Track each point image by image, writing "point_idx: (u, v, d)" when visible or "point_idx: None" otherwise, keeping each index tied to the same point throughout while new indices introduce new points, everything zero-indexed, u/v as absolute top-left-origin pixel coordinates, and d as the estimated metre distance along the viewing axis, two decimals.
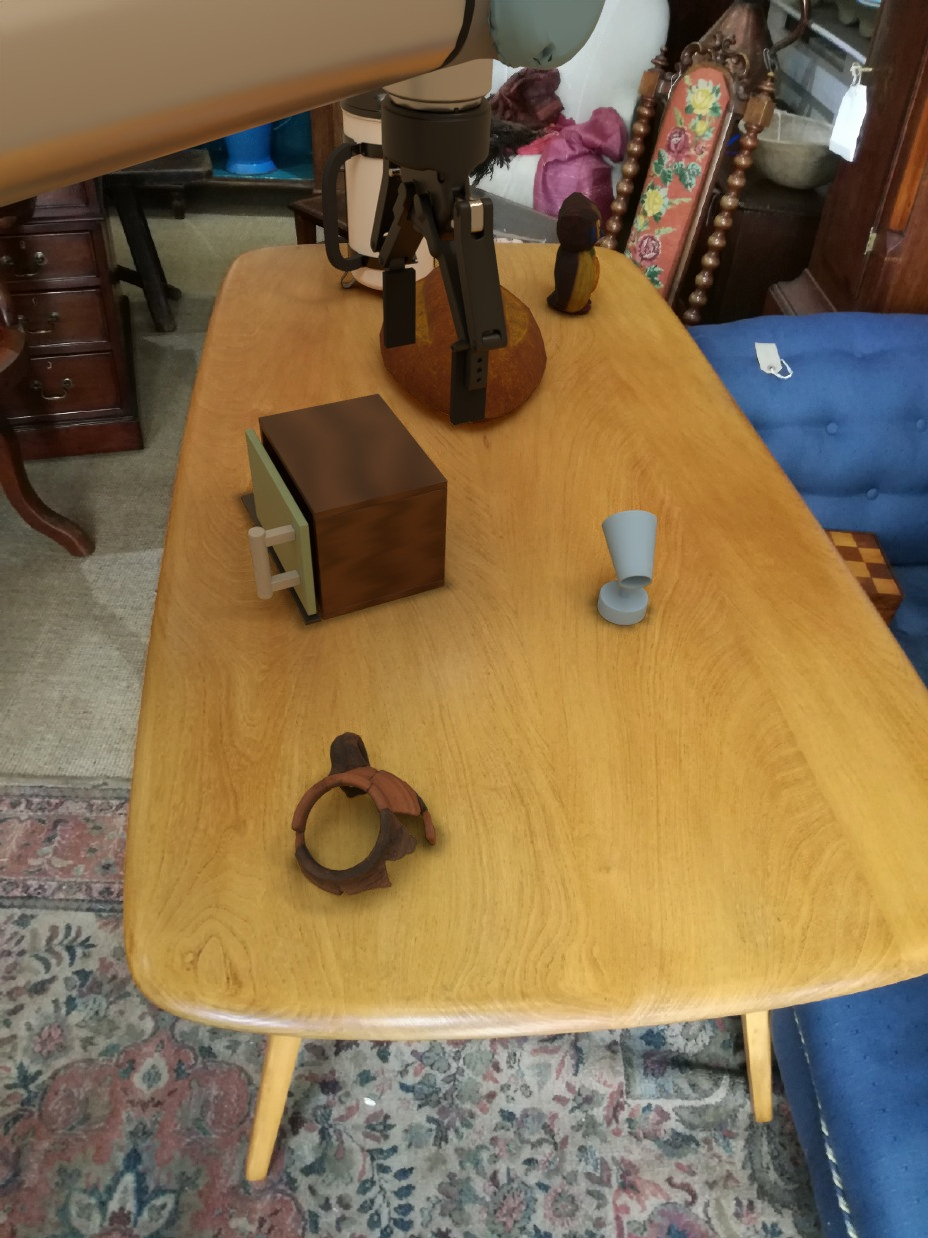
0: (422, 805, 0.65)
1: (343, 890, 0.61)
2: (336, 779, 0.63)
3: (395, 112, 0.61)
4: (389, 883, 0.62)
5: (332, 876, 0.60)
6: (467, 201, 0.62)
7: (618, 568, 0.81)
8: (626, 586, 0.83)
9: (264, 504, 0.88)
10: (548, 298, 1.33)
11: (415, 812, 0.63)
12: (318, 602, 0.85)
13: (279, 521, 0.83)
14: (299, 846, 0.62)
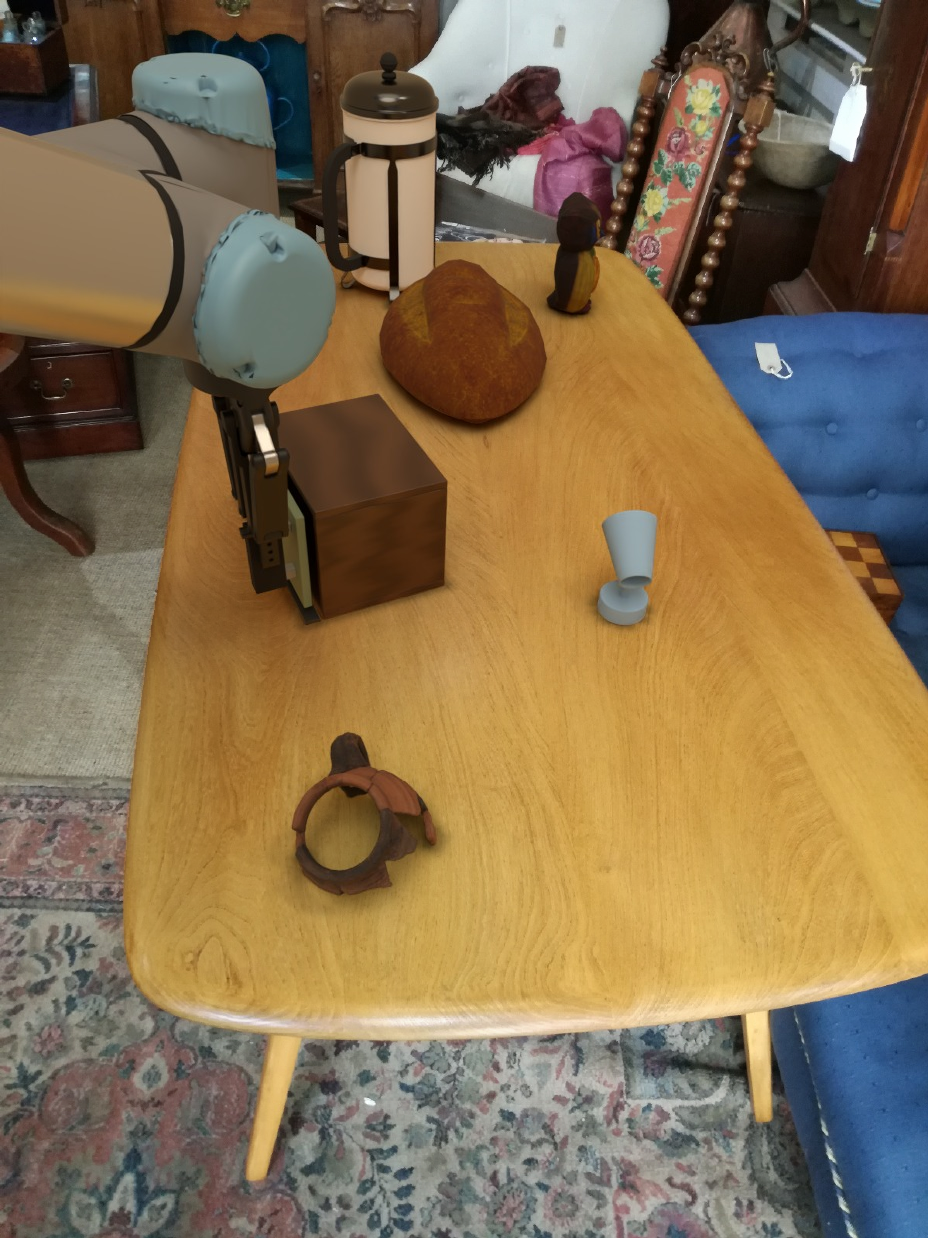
0: (422, 805, 0.65)
1: (343, 890, 0.61)
2: (336, 779, 0.63)
3: None
4: (389, 883, 0.62)
5: (333, 876, 0.60)
6: (264, 459, 0.64)
7: (618, 568, 0.81)
8: (626, 586, 0.83)
9: None
10: (548, 298, 1.33)
11: (415, 812, 0.63)
12: (318, 602, 0.85)
13: None
14: (299, 846, 0.62)
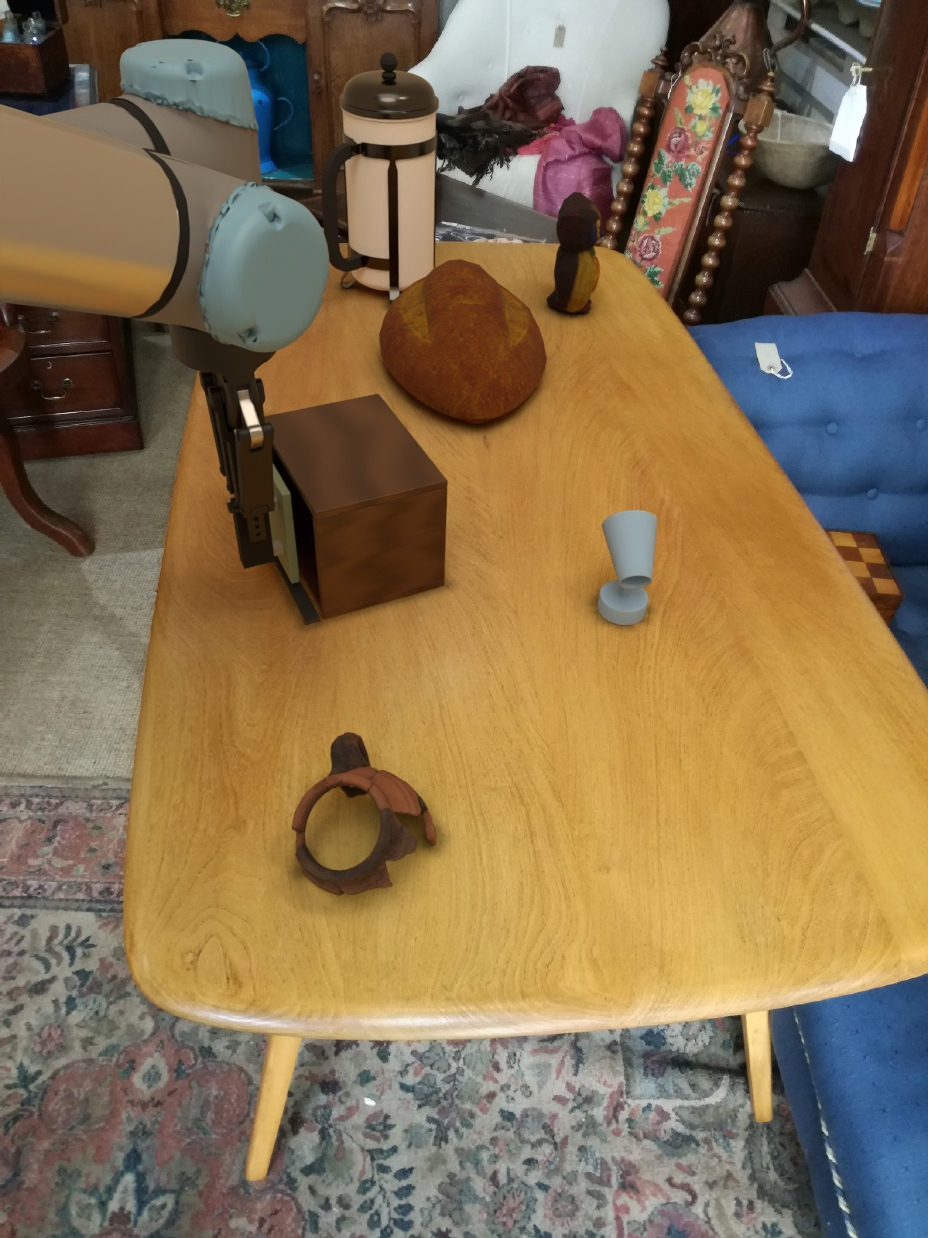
0: (422, 805, 0.65)
1: (343, 890, 0.61)
2: (336, 779, 0.63)
3: None
4: (389, 883, 0.62)
5: (333, 876, 0.60)
6: (249, 433, 0.66)
7: (618, 568, 0.81)
8: (626, 586, 0.83)
9: None
10: (548, 298, 1.33)
11: (416, 812, 0.63)
12: (318, 602, 0.85)
13: None
14: (299, 846, 0.62)
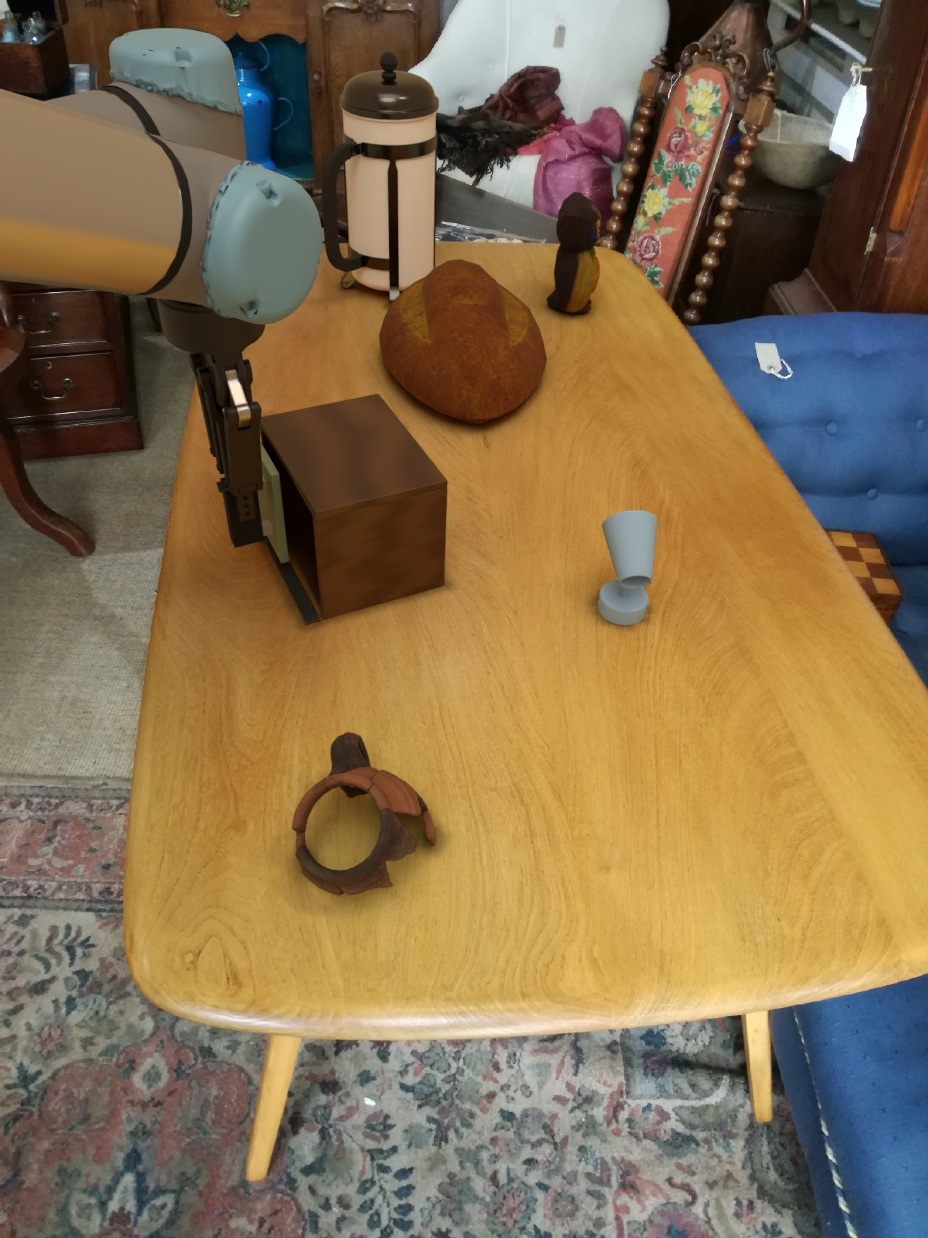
0: (423, 805, 0.65)
1: (344, 890, 0.61)
2: (337, 779, 0.63)
3: (164, 303, 0.66)
4: (390, 883, 0.62)
5: (333, 876, 0.60)
6: (237, 411, 0.68)
7: (618, 568, 0.81)
8: (626, 586, 0.83)
9: None
10: (548, 298, 1.33)
11: (416, 812, 0.63)
12: (318, 602, 0.85)
13: None
14: (300, 846, 0.62)
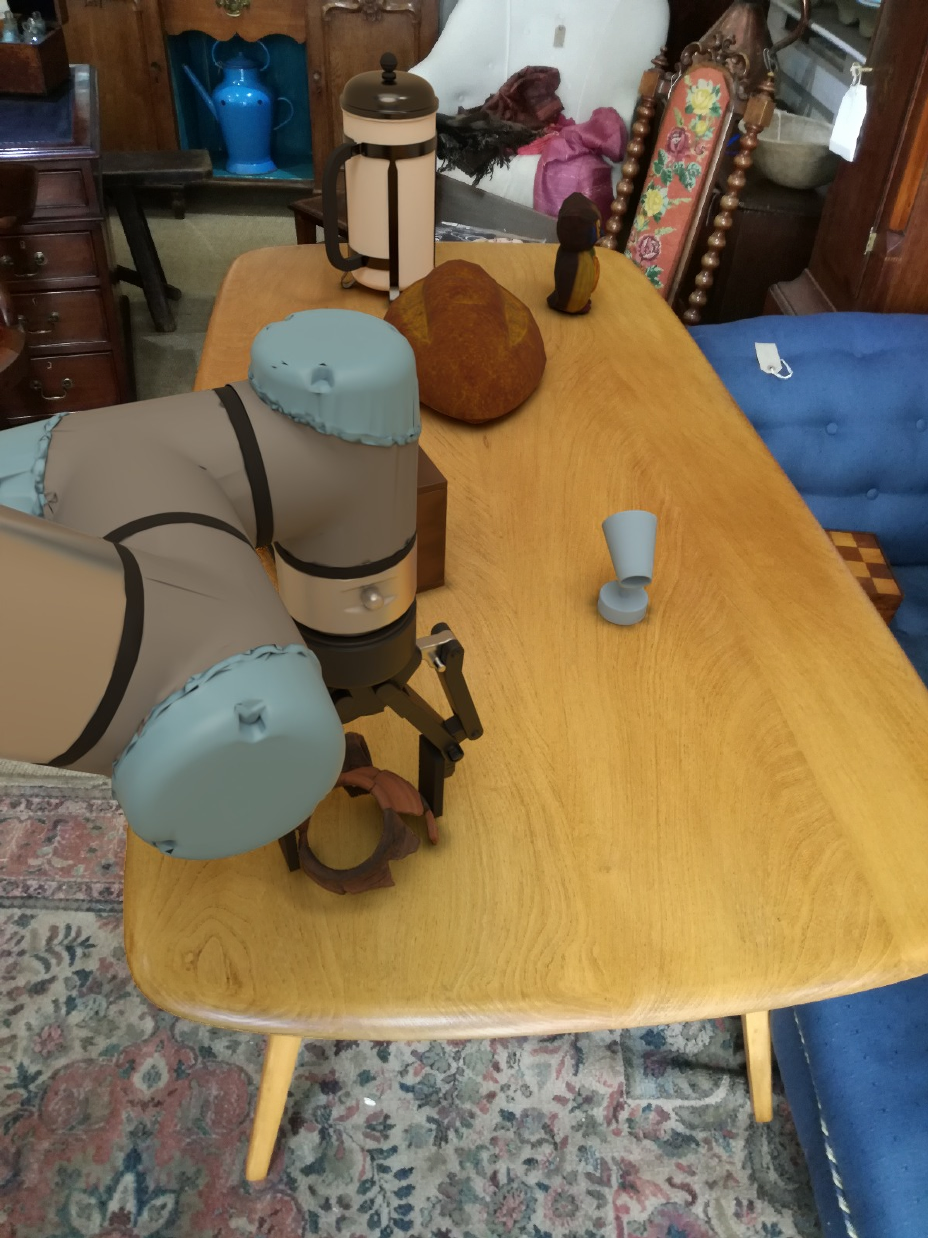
0: (425, 805, 0.65)
1: (346, 890, 0.62)
2: (339, 779, 0.63)
3: None
4: (392, 883, 0.62)
5: (336, 875, 0.60)
6: None
7: (618, 568, 0.81)
8: (626, 586, 0.83)
9: None
10: (548, 298, 1.33)
11: (418, 812, 0.63)
12: None
13: None
14: (302, 846, 0.62)
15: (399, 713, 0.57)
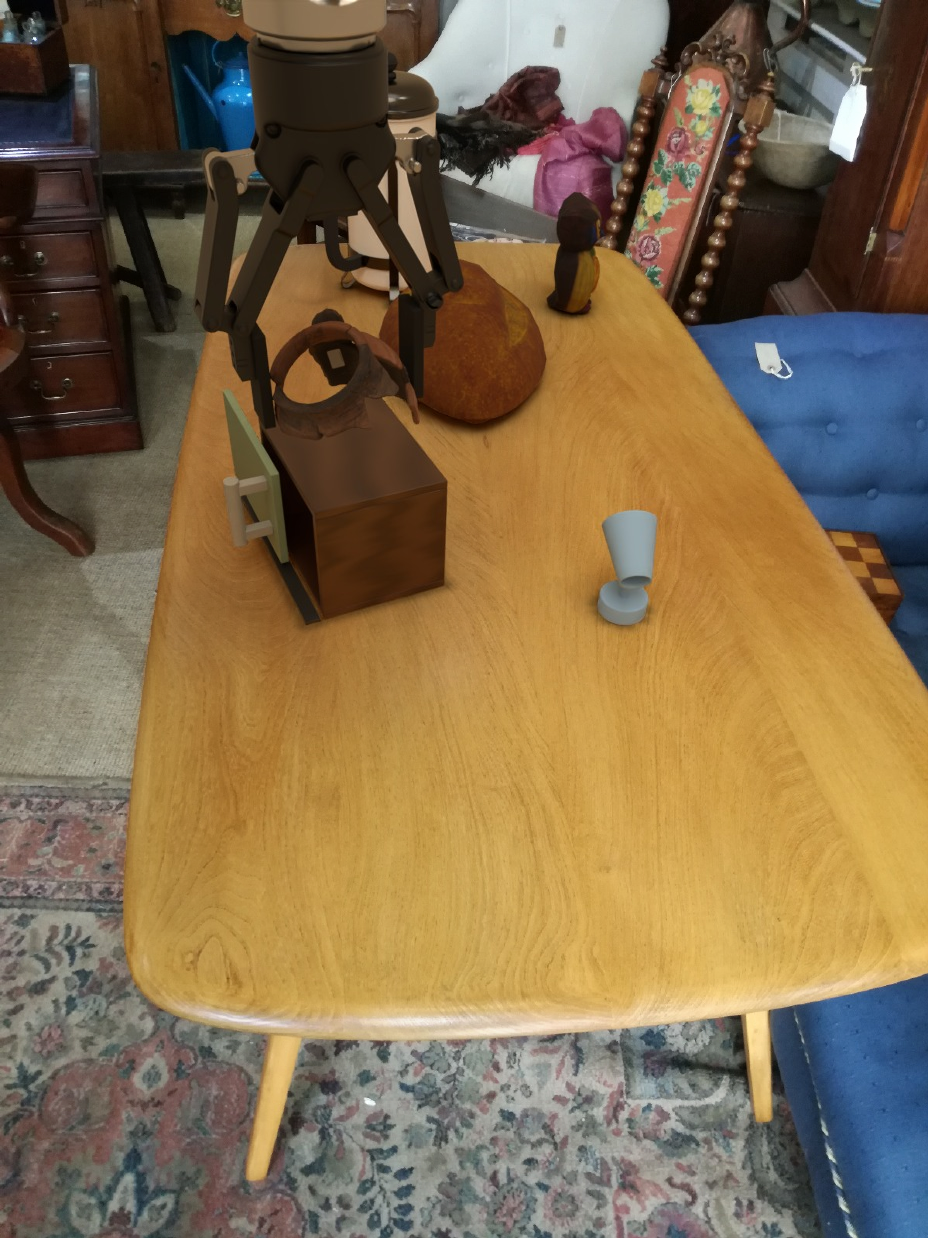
0: (405, 368, 0.63)
1: (321, 430, 0.60)
2: (315, 327, 0.61)
3: None
4: (368, 424, 0.60)
5: (310, 408, 0.59)
6: (210, 152, 0.52)
7: (618, 568, 0.81)
8: (626, 586, 0.83)
9: (241, 461, 0.93)
10: (548, 298, 1.33)
11: (396, 362, 0.61)
12: (318, 602, 0.85)
13: (254, 474, 0.88)
14: (277, 388, 0.60)
15: (373, 214, 0.56)
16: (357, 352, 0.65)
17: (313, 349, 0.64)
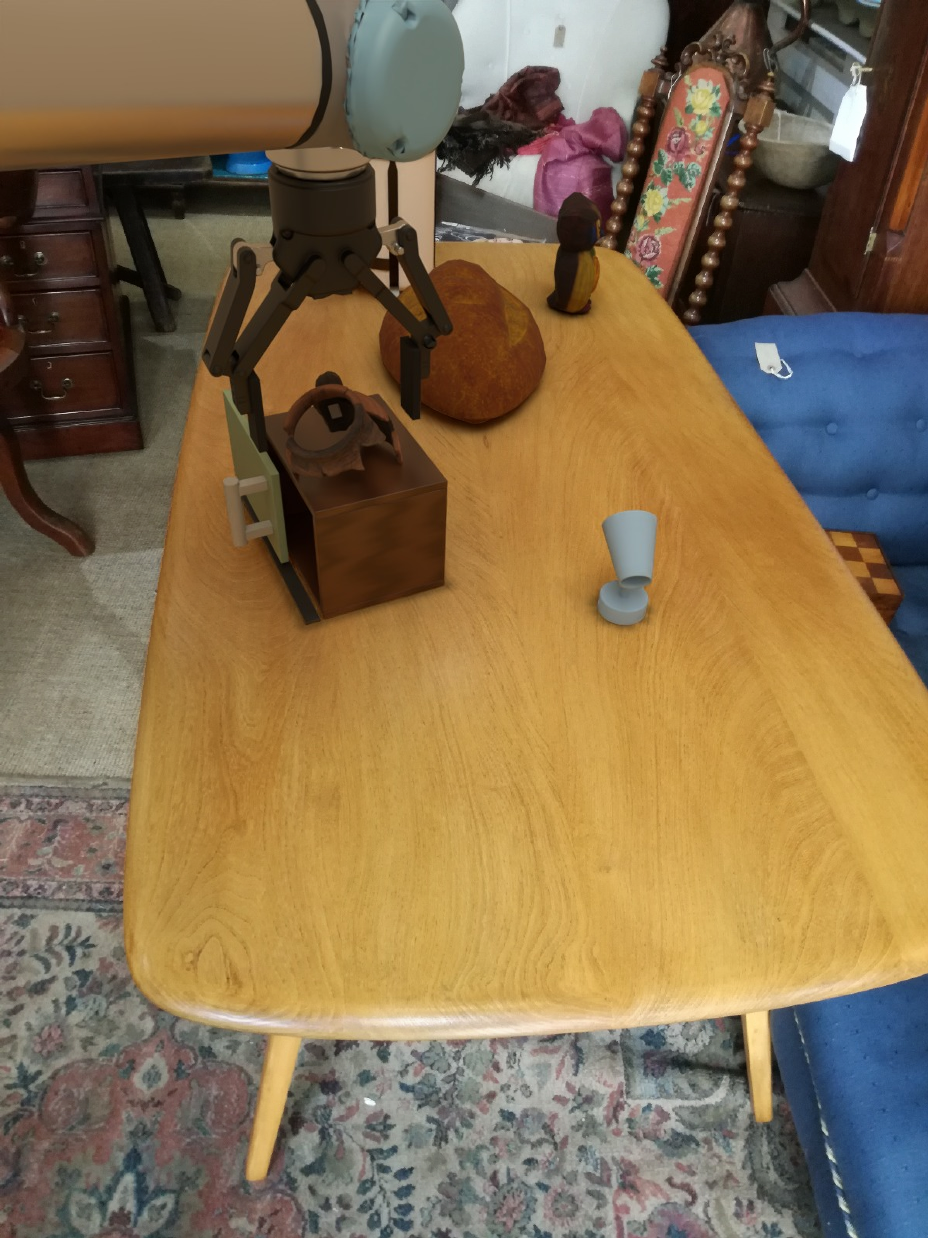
0: (390, 420, 0.79)
1: (325, 471, 0.76)
2: (319, 388, 0.77)
3: None
4: (362, 466, 0.76)
5: (316, 454, 0.75)
6: (239, 241, 0.67)
7: (618, 568, 0.81)
8: (626, 586, 0.83)
9: (241, 461, 0.93)
10: (548, 298, 1.33)
11: (384, 417, 0.77)
12: (318, 602, 0.85)
13: (254, 474, 0.88)
14: (289, 438, 0.76)
15: (370, 289, 0.71)
16: (352, 406, 0.81)
17: (317, 404, 0.80)
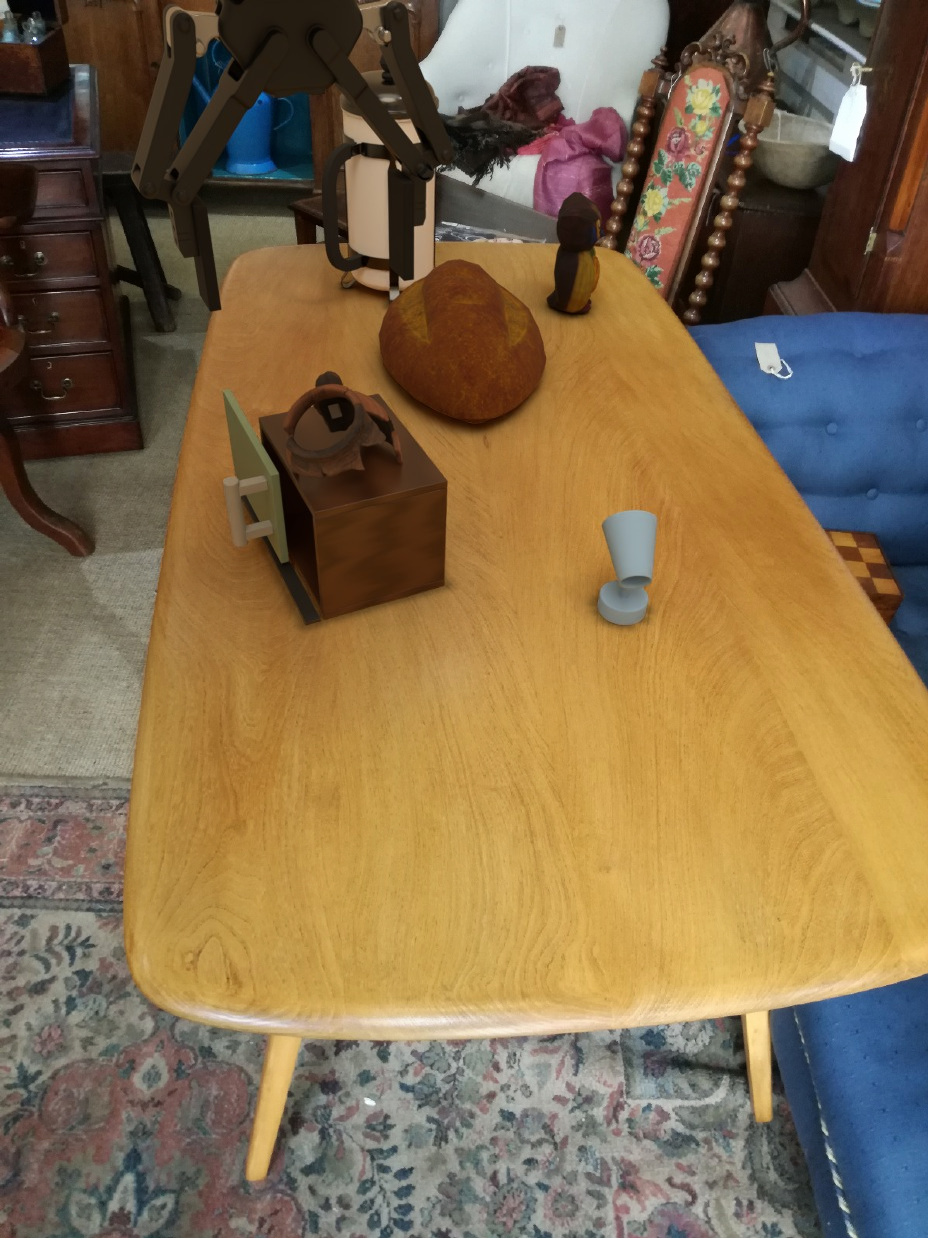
0: (390, 420, 0.79)
1: (325, 471, 0.76)
2: (319, 388, 0.77)
3: None
4: (362, 466, 0.76)
5: (316, 454, 0.75)
6: (173, 6, 0.51)
7: (618, 568, 0.81)
8: (626, 586, 0.83)
9: (241, 461, 0.93)
10: (548, 298, 1.33)
11: (384, 417, 0.77)
12: (318, 602, 0.85)
13: (254, 474, 0.88)
14: (289, 438, 0.76)
15: (347, 87, 0.55)
16: (352, 406, 0.81)
17: (317, 404, 0.80)
